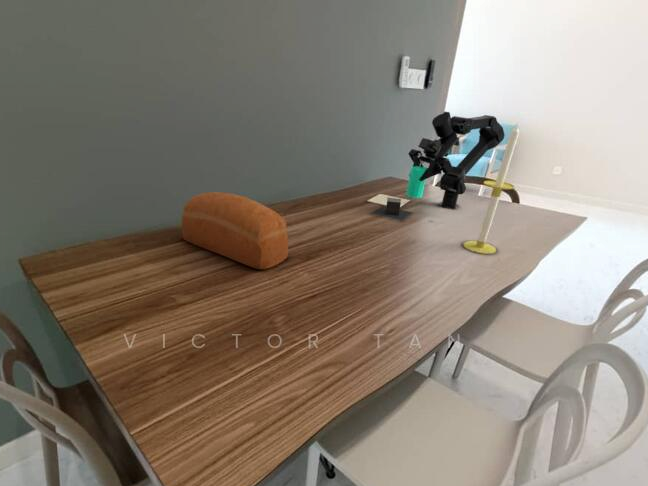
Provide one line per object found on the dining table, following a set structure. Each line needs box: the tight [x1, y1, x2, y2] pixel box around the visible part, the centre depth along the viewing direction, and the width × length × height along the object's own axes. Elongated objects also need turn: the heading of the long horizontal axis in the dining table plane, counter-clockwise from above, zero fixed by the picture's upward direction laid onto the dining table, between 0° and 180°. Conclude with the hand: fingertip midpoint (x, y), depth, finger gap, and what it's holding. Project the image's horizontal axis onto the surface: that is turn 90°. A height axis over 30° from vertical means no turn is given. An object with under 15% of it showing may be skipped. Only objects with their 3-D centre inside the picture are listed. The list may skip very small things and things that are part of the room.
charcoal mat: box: [371, 205, 413, 221], centre depth 151 cm, size 12×12×1 cm
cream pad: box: [367, 193, 411, 208], centre depth 165 cm, size 14×14×1 cm
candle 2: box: [462, 120, 520, 255], centre depth 117 cm, size 10×10×38 cm
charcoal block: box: [385, 198, 401, 216], centre depth 150 cm, size 5×5×5 cm
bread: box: [181, 191, 289, 270], centre depth 111 cm, size 14×33×16 cm, turn 54°
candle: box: [406, 163, 428, 199], centre depth 148 cm, size 6×6×12 cm
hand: (414, 178), depth 147 cm, fingers closed on candle, 5 cm apart
